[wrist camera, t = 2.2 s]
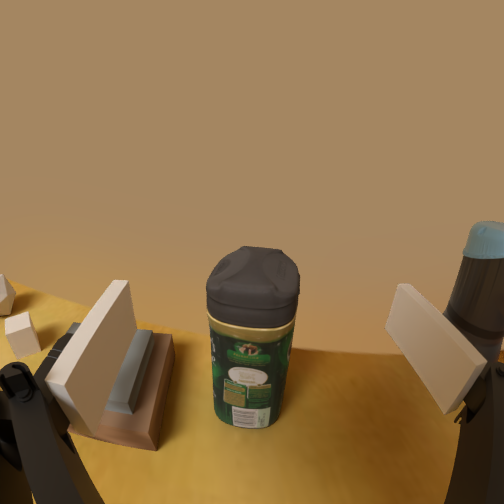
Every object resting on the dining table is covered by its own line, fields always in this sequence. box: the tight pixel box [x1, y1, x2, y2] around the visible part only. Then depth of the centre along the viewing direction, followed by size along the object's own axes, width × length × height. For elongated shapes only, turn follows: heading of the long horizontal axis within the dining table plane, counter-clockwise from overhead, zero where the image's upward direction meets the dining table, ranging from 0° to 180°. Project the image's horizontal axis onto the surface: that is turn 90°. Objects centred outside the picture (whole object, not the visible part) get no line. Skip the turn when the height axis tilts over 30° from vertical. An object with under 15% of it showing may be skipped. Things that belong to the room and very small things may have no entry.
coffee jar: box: [206, 246, 300, 429], centre depth 27 cm, size 10×8×19 cm
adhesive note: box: [5, 312, 41, 359], centre depth 31 cm, size 5×5×5 cm
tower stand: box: [66, 322, 175, 451], centre depth 28 cm, size 16×16×6 cm
